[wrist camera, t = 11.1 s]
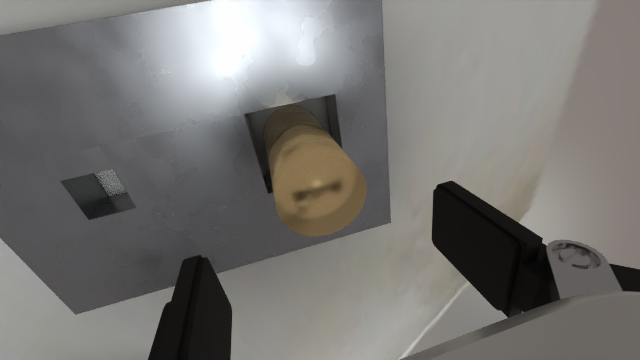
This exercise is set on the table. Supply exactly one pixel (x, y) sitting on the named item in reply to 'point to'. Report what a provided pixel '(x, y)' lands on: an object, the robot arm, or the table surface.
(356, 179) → the tan cylinder
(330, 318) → the table surface
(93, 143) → the plate
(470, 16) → the table surface
